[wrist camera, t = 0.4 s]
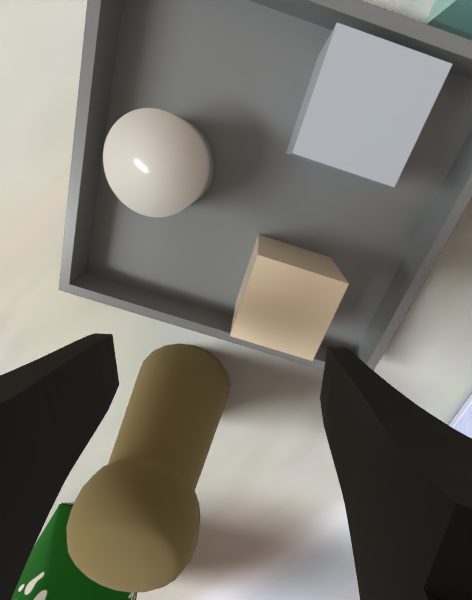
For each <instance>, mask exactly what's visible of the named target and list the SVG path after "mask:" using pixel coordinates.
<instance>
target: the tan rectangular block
mask: <svg viewBox="0 0 472 600" xmlns="http://www.w3.org/2000/svg"><path fill="white" fill-rule="evenodd" d="M348 285H349V283H348V282H347V280H346V279H345V277H344V276H343V274H342V273H341V271H340V270H339V268H338V267H337V266H336V264H335V263H334V261H333V260H332V258H331V257H328V256H324V255H321V254H318V253H315V252H312V251H309V250H306V249H303V248H300V247H296V246H293V245H290V244H287V243H284V242H281V241H278V240H275V239H272V238H268V237H265V236H262V235H259V234H258V237H257V240H256V243H255V246H254V249H253V252H252V255H251V258H250V261H249V264H248V267H247V270H246V273H245V276H244V279H243V282H242V285H241V288H240V291H239V294H238V297H237V300H236V305H235V310H234V316H233V321H232V327H231V332H230V336H231V337H235V338H238V339H241V340H245V341H248V342H251V343H254V344H258V345H261V346H264V347H268V348H271V349H274V350H278V351H281V352H284V353H287V354H291V355H294V356H297V357H301V358H304V359H307V360H310V361H313V359H314V357H315V355H316V353H317V351H318V348H319V346H320V344H321V342H322V340H323V338H324V336H325V334H326V332H327V329H328V327H329V325H330V323H331V321H332V319H333V317H334V315H335V312H336V310H337V308H338V306H339V304H340V302H341V300H342V298H343V295H344V293H345V291H346V289H347V287H348Z"/></svg>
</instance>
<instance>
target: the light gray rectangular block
mask: <svg viewBox="0 0 472 600" xmlns="http://www.w3.org/2000/svg"><path fill="white" fill-rule="evenodd" d="M451 66H452V63H449V62H446V61H443V60H440V59H438V58H435V57H432V56H429V55H427V54H424V53H421V52H418V51H415V50H413V49H410V48H407V47H404V46H401V45H399V44H396V43H393V42H390V41H387V40H385V39H382V38H379V37H376V36H374V35H371V34H368V33H365V32H362V31H360V30H357V29H354V28H351V27H348V26H346V25H343V24H340V23H336V25H335V27H334V29H333V30H332V32H331V34H330V36H329V38H328V39H327V41H326V43H325V45H324V47H323V48H322V50H321V52H320V54H319V56H318V58H317V61H316V64H315V67H314V70H313V73H312V76H311V79H310V82H309V85H308V88H307V91H306V94H305V97H304V100H303V103H302V106H301V109H300V112H299V115H298V118H297V121H296V124H295V127H294V130H293V133H292V136H291V139H290V142H289V145H288V148H287V151H286V154H287V155H290V156H293V157H296V158H299V159H302V160H305V161H308V162H311V163H314V164H317V165H320V166H323V167H326V168H329V169H332V170H335V171H338V172H341V173H344V174H347V175H350V176H353V177H356V178H359V179H362V180H365V181H369V182H373V183H377V184H382V185H386V186H390V187H395V185H396V183H397V181H398V179H399V177H400V175H401V172H402V170H403V168H404V166H405V164H406V162H407V160H408V158H409V156H410V153H411V151H412V149H413V147H414V145H415V143H416V141H417V139H418V136H419V134H420V132H421V130H422V128H423V126H424V124H425V122H426V119H427V117H428V115H429V113H430V111H431V109H432V107H433V105H434V102H435V100H436V98H437V96H438V94H439V92H440V90H441V88H442V86H443V83H444V81H445V79H446V77H447V75H448V73H449V71H450V69H451Z"/></svg>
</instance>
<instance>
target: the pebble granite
mask: <svg viewBox="0 0 472 600" xmlns="http://www.w3.org/2000/svg"><path fill="white" fill-rule="evenodd" d="M103 165H104V171H105V175H106V178H107V180H108V183H109V185H110V187H111V189H112V190H113V192H114V193H115V195H116V196H117V197H118V198H119V200H120V201H121V202H122V203H124V204H125V205H126V206H127V207H128V208H130V209H131V210H133V211H135V212H137V213H139V214H142V215H145V216H149V217H167V216H171V215H174V214H176V213H178V212H180V211H182V210H183V209H185V208H186V207H188V206H189V205H191V204H192V203H194V202H195V201H197V200H198V199H200V198H201V197H202V196H203V195H204V194H205V193H206V191H207V190H208V188H209V187H210V184H211V182H212V179H213V176H214V170H215V160H214V154H213V151H212V148H211V145H210V143H209V141H208V140H207V138H206V136H205V135H204V134H203V133H202V132H201V131H200V130H199V129H198V128H197V127H196V126H195V125H193V124H191V123H190V122H188V121H186V120H184V119H181V118H179V117H177V116H175V115H173V114H171V113H169V112H166V111H164V110H160V109H156V108H141V109H136V110H134V111H131V112H129V113H127V114H125V115H124V116H122V117H121V118H120V119H118V121H117V122H116V123H115V124H114V125H113V126H112V128H111V129H110V131H109V133H108V135H107V138H106V141H105V144H104V149H103Z"/></svg>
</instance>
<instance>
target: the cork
mask: <svg viewBox="0 0 472 600" xmlns="http://www.w3.org/2000/svg"><path fill="white" fill-rule="evenodd" d="M229 386H230V384H229V380H228V376H227V372H226V371H225V369H224V368H223V366H222V364H221V363H220V361H219V360H217V359H216V358H215V357H214V356H212V355H211V354H210V353H209V352H207V351H205V350H202V349H200V348H198V347H196V346H191V345H184V344H175V345H167V346H164V347H161V348H159V349H157V350H155V351H153V352H152V353H151V354H150V355H149V356H148V357H147V358H146V359H145V360H144V362H143V364H142V366H141V369H140V371H139V374H138V377H137V380H136V383H135V386H134V389H133V392H132V395H131V398H130V401H129V404H128V407H127V410H126V413H125V416H124V419H123V422H122V425H121V428H120V431H119V434H118V437H117V440H116V442H115V445H114V448H113V451H112V454H111V457H110V460H109V463H108V465H106V466H104V467H102V468H101V469H100V470H99V471H98V472H97V473H96V474H95V475H93V476H92V478H91V479H90V480H89V481H88V482H87V483H86V484H85V485H84V486H83V488H82V489H81V491H80V493H79V495H78V497H77V498H76V500H75V502H74V505H73V507H72V510H71V512H70V516H69V520H68V523H67V527H66V530H67V545H68V553H69V555H70V557H71V558H72V560H73V562H74V564H75V565H76V566H77V567H78V568H79V570H80V571H82V572H83V573H84V574H85V575H86V576H87V577H88V578H89V579H91V580H93V581H95V582H96V583H98V584H100V585H102V586H105V587H107V588H110V589H113V590H117V591H123V592H130V593H132V592H147V591H150V590H154V589H158V588H161V587H164V586H166V585H167V584H169V583H171V582H172V581H174V580H175V579H176V578H177V577H178V575H179V574H180V573H181V572H182V570H183V569H184V568H185V566H186V565H187V563H188V562H189V561H190V559H191V557H192V554H193V552H194V550H195V547H196V544H197V538H198V531H199V523H200V509H199V502H198V499H197V496H196V493H195V488H196V485H197V483H198V480H199V477H200V474H201V471H202V468H203V466H204V463H205V460H206V457H207V454H208V451H209V449H210V446H211V443H212V440H213V437H214V434H215V432H216V429H217V426H218V423H219V420H220V418H221V415H222V412H223V409H224V406H225V403H226V401H227V398H228V393H229Z"/></svg>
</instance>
